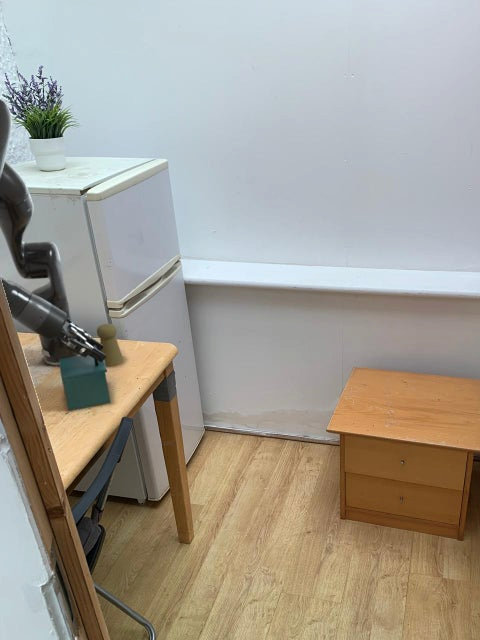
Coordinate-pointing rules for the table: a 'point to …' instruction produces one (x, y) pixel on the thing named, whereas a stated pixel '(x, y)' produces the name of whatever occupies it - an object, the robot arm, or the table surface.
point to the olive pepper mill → (110, 344)
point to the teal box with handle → (81, 366)
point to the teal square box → (86, 391)
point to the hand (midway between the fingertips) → (102, 353)
